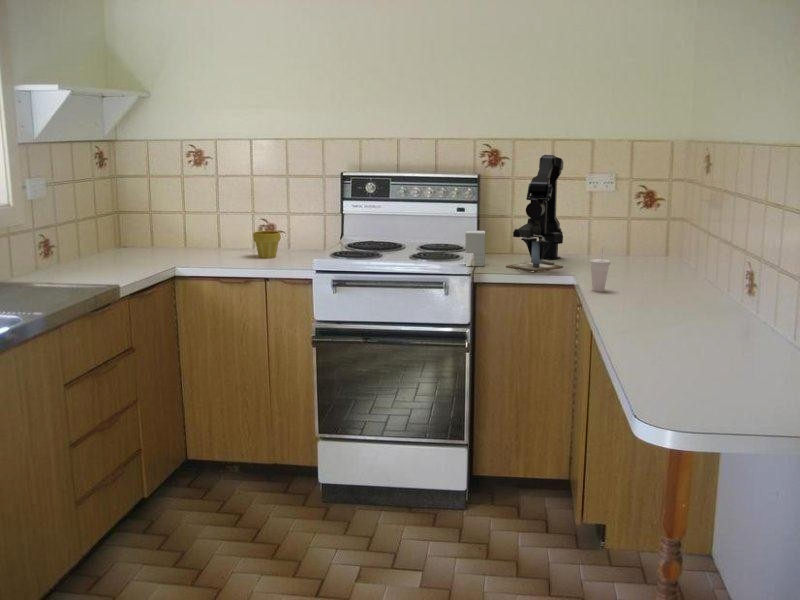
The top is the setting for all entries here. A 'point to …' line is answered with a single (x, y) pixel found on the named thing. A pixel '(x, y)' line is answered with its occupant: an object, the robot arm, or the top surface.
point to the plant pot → (266, 243)
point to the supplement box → (476, 246)
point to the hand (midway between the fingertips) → (536, 258)
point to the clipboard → (529, 267)
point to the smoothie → (599, 273)
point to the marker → (535, 254)
